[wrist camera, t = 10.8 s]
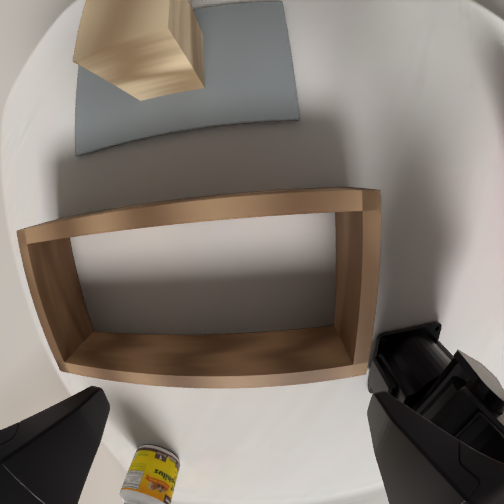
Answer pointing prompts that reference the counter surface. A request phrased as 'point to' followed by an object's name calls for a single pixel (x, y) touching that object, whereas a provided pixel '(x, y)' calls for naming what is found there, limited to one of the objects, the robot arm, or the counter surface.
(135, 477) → the supplement bottle
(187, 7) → the maple block
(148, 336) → the walnut crate
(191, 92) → the slate mat
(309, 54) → the counter surface
